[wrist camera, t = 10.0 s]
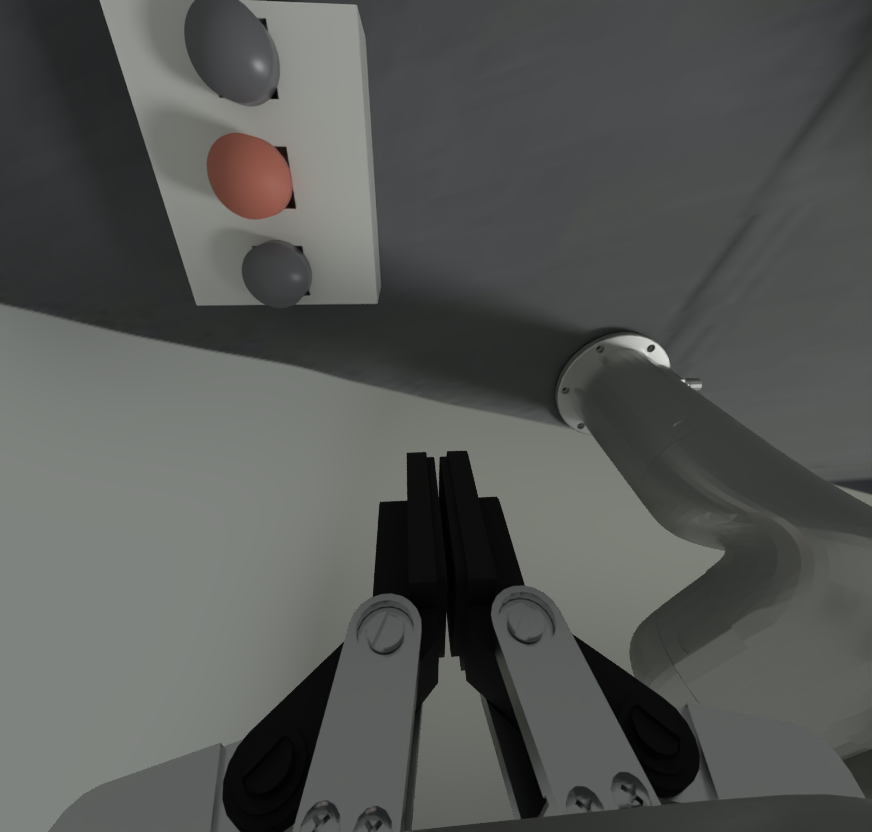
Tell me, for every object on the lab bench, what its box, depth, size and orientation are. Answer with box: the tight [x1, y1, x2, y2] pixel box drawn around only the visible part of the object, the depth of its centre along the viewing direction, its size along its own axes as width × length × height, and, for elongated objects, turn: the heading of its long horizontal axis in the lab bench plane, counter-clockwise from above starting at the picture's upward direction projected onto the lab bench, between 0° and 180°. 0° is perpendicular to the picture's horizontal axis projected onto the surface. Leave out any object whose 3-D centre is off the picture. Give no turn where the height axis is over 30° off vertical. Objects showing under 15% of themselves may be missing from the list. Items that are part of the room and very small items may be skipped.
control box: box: [100, 0, 381, 305], centre depth 28 cm, size 14×17×6 cm
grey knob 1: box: [184, 0, 280, 107], centre depth 23 cm, size 4×4×6 cm
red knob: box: [207, 133, 293, 220], centre depth 25 cm, size 4×4×6 cm
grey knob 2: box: [242, 240, 312, 308], centre depth 30 cm, size 4×4×6 cm
